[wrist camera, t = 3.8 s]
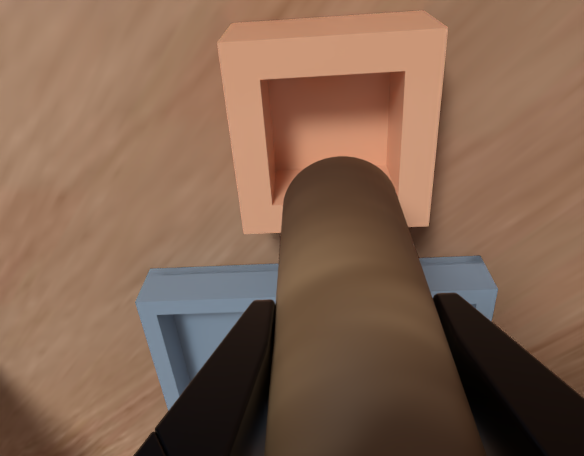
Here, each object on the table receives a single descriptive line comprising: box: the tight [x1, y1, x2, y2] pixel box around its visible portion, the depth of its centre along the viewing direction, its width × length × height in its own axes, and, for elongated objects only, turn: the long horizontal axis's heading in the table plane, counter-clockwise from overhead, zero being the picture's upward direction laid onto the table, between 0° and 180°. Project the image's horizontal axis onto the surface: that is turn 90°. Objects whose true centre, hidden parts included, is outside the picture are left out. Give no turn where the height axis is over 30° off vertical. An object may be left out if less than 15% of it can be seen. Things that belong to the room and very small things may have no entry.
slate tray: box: [135, 256, 498, 411], centre depth 26 cm, size 16×13×2 cm
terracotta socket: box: [217, 10, 448, 234], centre depth 18 cm, size 7×7×4 cm
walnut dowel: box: [264, 156, 487, 456], centre depth 9 cm, size 3×3×9 cm
